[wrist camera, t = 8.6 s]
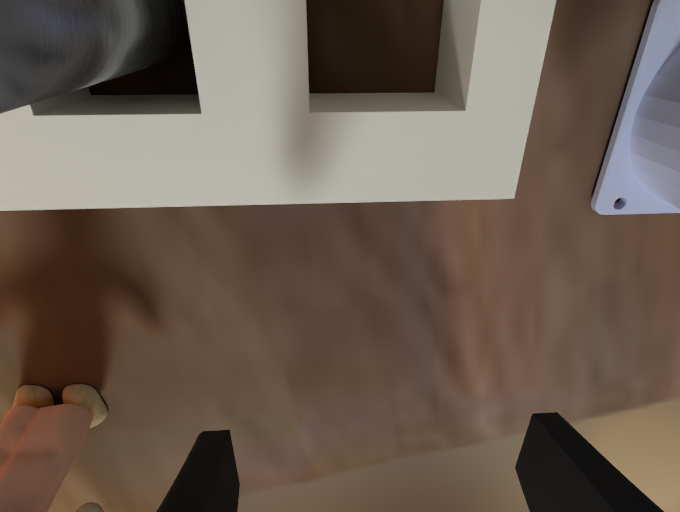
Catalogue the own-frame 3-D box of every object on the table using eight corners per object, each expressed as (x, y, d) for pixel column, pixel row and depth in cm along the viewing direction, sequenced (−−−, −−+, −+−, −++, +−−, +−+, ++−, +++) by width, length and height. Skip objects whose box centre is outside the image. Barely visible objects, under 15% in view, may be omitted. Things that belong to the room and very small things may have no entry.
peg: (186, -38, 13) (4, -121, 5) (193, 68, 14) (59, 128, 7) (83, -50, 13) (-277, -159, 5) (100, 59, 14) (-156, 111, 6)
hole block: (533, -183, 12) (610, -252, 9) (476, 165, 17) (514, 198, 14) (-70, -201, 11) (-214, -285, 8) (56, 173, 16) (-4, 210, 13)
